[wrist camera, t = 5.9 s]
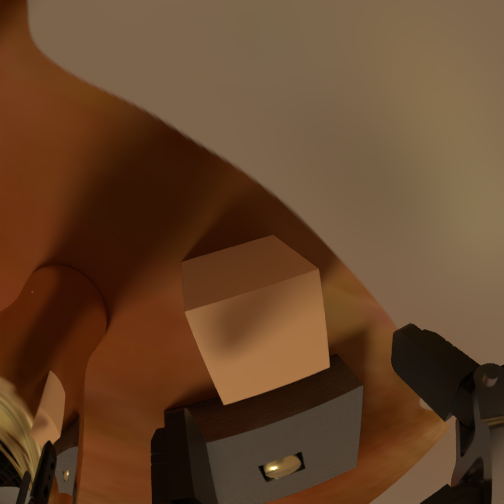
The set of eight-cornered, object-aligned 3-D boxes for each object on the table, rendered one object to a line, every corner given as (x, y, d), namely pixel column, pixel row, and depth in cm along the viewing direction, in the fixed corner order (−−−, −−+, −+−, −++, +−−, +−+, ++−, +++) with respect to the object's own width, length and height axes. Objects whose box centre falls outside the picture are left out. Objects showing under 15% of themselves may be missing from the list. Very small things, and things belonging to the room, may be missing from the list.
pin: (251, 436, 21) (262, 467, 18) (284, 425, 22) (298, 455, 18) (258, 452, 22) (269, 481, 19) (289, 441, 23) (302, 469, 19)
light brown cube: (181, 261, 16) (184, 311, 11) (272, 234, 17) (318, 268, 12) (208, 339, 18) (223, 405, 12) (288, 313, 19) (329, 367, 13)
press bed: (163, 410, 19) (166, 451, 15) (337, 354, 21) (363, 384, 17) (218, 483, 24) (225, 512, 20) (340, 441, 26) (356, 466, 22)
